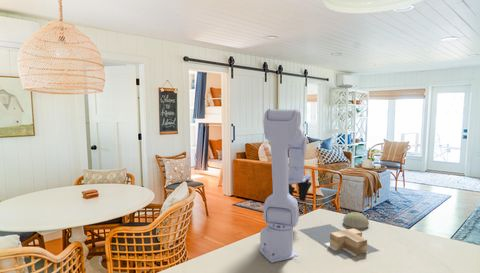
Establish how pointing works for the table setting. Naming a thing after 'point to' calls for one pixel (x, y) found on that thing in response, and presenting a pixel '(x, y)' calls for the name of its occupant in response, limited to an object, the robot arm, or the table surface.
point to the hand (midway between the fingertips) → (295, 202)
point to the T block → (349, 241)
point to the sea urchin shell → (355, 220)
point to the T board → (323, 237)
